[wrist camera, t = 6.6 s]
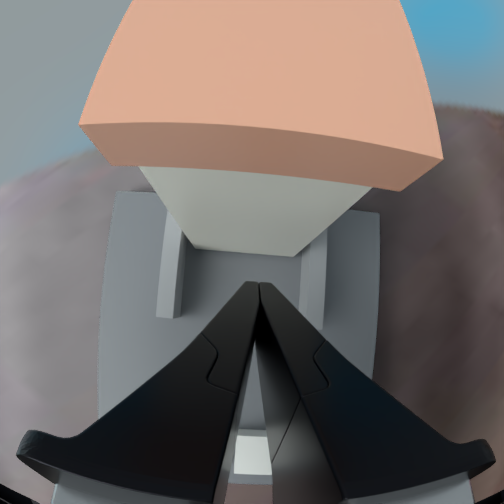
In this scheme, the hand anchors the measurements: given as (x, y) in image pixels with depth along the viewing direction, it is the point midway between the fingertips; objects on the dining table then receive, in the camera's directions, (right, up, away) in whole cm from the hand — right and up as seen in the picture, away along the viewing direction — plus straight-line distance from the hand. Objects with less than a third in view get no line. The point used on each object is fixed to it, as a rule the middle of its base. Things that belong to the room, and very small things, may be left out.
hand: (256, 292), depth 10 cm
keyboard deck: (-1, -4, +7) cm, 8 cm away
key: (0, +3, +7) cm, 7 cm away
